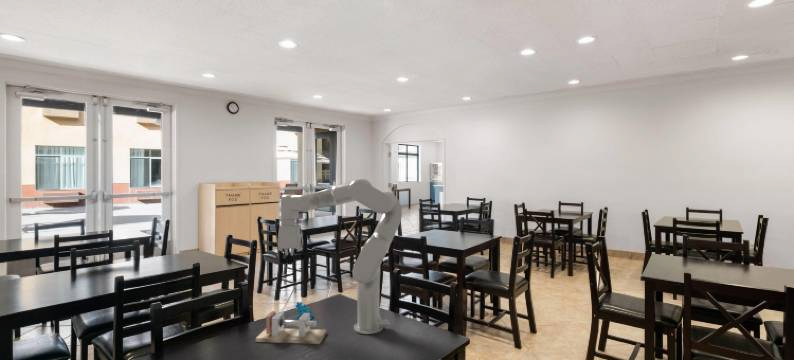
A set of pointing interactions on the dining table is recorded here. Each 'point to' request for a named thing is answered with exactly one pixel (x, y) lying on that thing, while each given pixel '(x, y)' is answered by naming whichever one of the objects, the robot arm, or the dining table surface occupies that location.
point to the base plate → (293, 336)
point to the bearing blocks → (279, 329)
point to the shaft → (284, 322)
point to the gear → (303, 310)
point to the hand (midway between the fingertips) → (290, 263)
